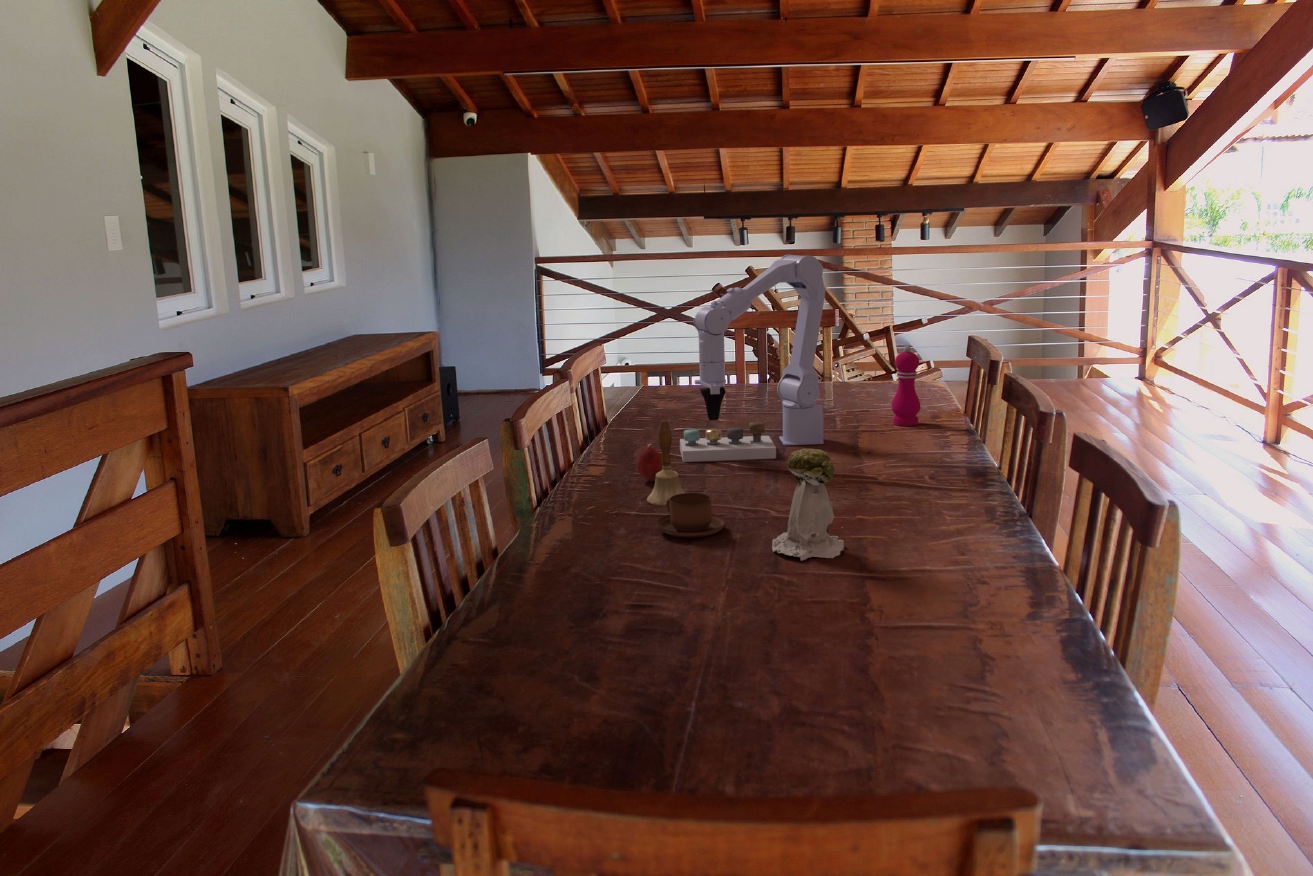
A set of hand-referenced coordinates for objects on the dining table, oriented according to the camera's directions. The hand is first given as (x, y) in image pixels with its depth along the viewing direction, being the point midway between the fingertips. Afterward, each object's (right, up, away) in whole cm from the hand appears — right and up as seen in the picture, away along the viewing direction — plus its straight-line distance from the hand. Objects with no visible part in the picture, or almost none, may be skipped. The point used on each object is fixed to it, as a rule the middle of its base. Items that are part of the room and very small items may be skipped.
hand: (713, 419), depth 229 cm
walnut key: (+10, -5, +1) cm, 11 cm away
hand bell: (-11, -17, -32) cm, 38 cm away
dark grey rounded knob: (+5, -6, +2) cm, 8 cm away
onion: (-14, -13, -19) cm, 27 cm away
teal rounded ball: (-5, -7, +1) cm, 8 cm away
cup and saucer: (-7, -21, -52) cm, 56 cm away
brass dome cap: (0, -7, +2) cm, 7 cm away
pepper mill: (+50, -1, +26) cm, 57 cm away
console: (+3, -8, +2) cm, 9 cm away
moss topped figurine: (+12, -23, -63) cm, 68 cm away
